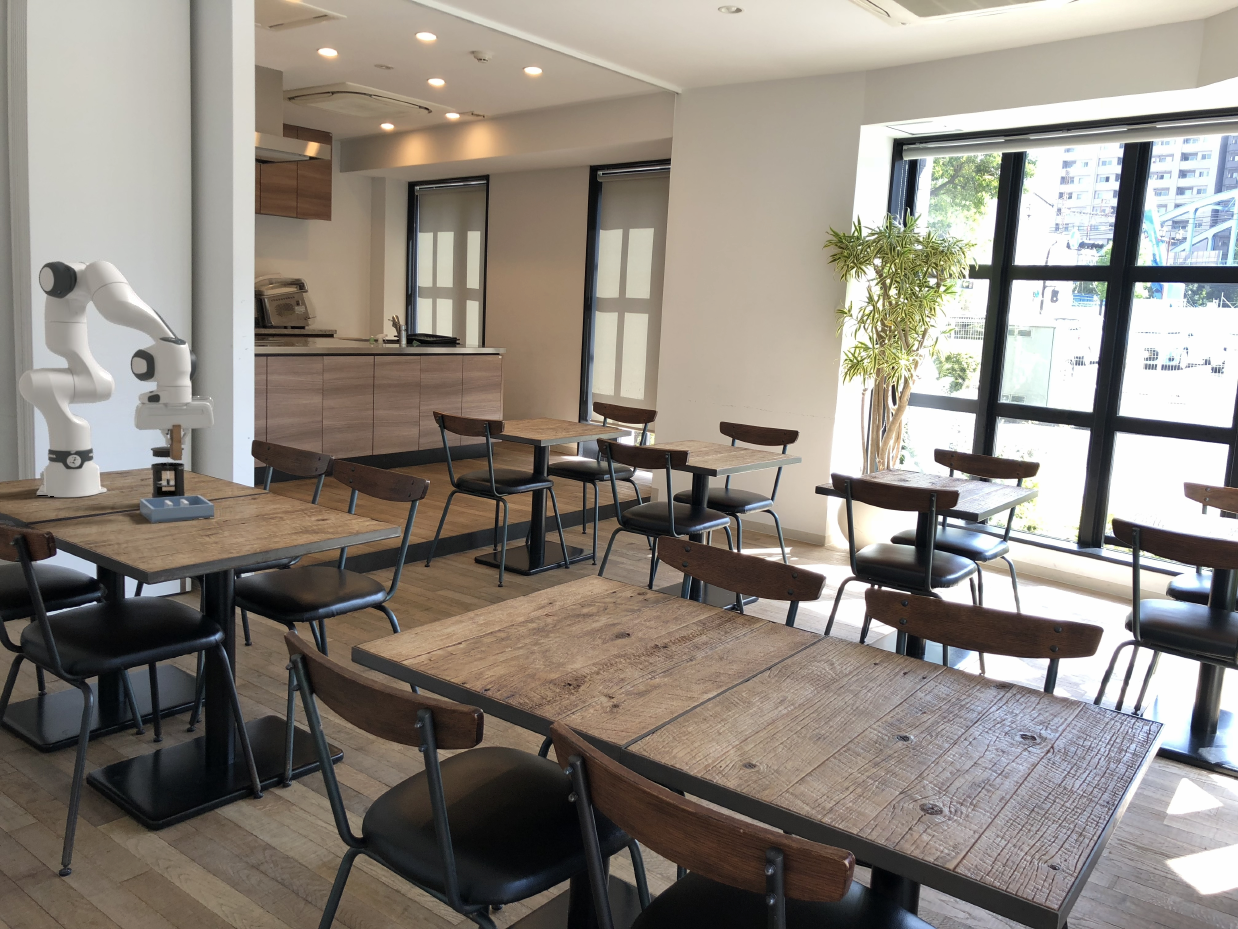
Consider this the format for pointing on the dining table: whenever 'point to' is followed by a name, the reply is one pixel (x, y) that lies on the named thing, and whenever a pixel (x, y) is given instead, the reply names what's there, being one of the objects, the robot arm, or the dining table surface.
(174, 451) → the brown wooden block
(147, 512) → the shallow blue crate
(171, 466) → the french press
